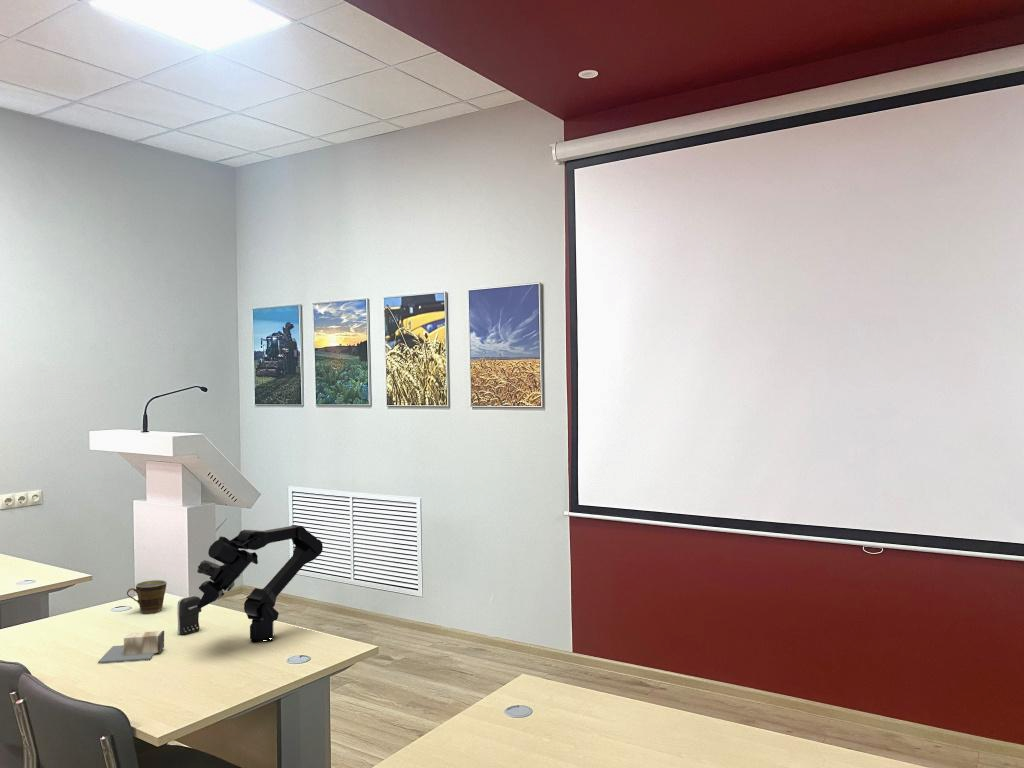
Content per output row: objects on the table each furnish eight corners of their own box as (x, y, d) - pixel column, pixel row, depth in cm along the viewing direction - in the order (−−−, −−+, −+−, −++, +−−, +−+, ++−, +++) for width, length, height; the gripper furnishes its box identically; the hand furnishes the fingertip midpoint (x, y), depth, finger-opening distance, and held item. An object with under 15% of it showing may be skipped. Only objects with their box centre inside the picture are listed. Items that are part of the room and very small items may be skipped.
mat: (161, 644, 236) (161, 642, 236) (150, 660, 222) (150, 658, 222) (112, 647, 233) (112, 645, 233) (97, 663, 219) (97, 661, 219)
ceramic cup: (161, 606, 279) (161, 578, 279) (170, 612, 271) (170, 583, 271) (123, 612, 271) (123, 584, 271) (130, 619, 263) (130, 590, 263)
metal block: (164, 630, 232) (128, 632, 230) (160, 635, 227) (123, 638, 225) (164, 647, 232) (128, 649, 230) (160, 652, 227) (123, 655, 225)
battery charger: (183, 636, 244) (184, 600, 244) (176, 634, 246) (176, 599, 246) (203, 630, 250) (203, 595, 250) (195, 628, 252) (196, 594, 252)
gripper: (222, 546, 243) (188, 585, 241) (204, 555, 224) (167, 596, 222) (248, 569, 243) (214, 607, 241) (233, 579, 225) (196, 621, 223)
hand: (198, 607), depth 232 cm, fingers closed
